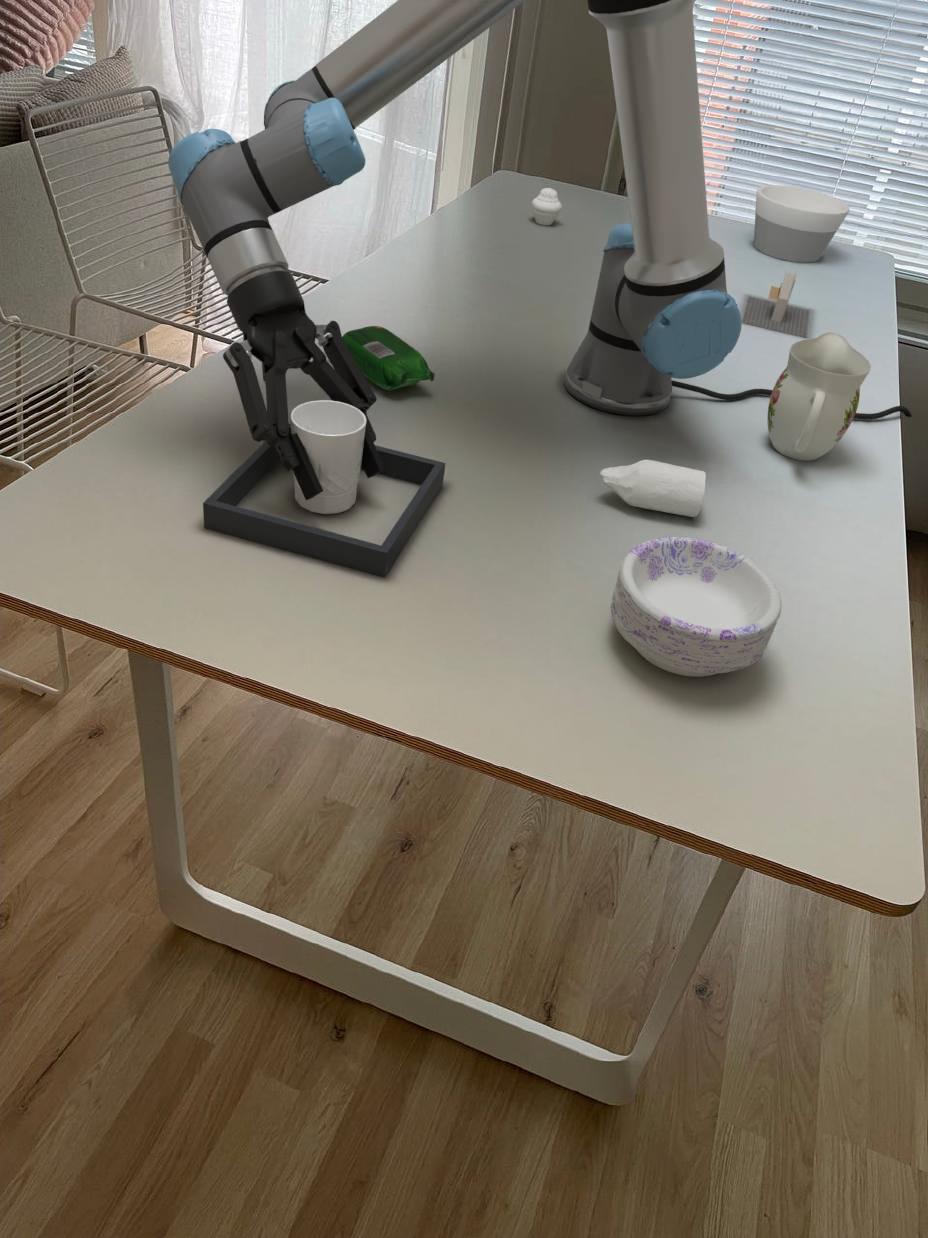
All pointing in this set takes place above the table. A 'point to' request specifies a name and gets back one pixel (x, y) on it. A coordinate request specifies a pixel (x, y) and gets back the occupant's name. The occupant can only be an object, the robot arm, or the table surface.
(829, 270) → the table surface
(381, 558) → the dark grey square frame
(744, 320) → the architectural model
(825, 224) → the bowl
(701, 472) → the white tapered cylinder
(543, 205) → the muffin
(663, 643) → the paper bowls
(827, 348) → the pitcher
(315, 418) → the white cup
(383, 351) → the snack package
